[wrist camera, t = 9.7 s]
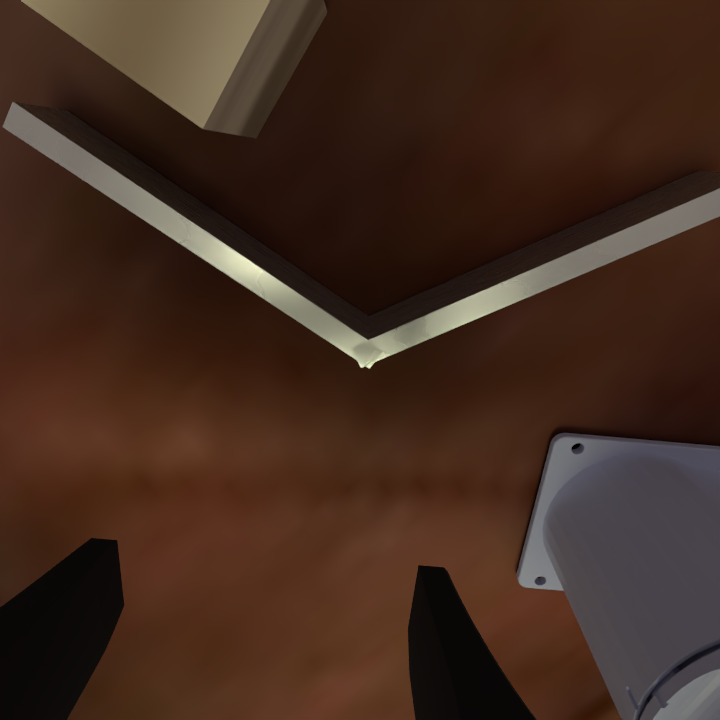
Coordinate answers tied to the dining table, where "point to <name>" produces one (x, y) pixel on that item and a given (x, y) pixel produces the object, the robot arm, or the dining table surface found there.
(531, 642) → the dining table surface
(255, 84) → the maple block
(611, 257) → the rail track
